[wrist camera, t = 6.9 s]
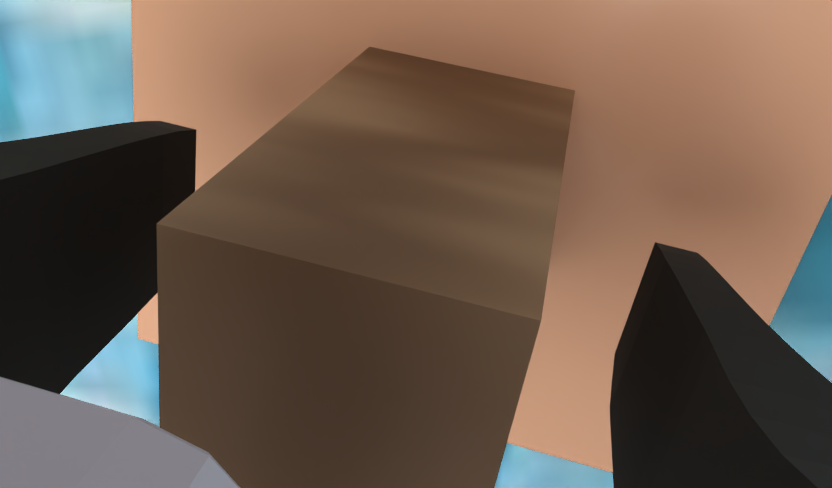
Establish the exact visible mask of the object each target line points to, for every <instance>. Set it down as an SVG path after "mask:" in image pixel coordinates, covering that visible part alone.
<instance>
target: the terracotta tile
mask: <svg viewBox="0 0 832 488" xmlns="http://www.w3.org/2000/svg"><path fill="white" fill-rule="evenodd" d="M131 6H132V55H133V105H134V122H139V121H163V122H167V123H171V124H175V125H179V126H183V127H188V128H192V129H196V174H195V191H196V190H198V189H199V188H200V187H201V186H202V185H204V184H205V183H206V182H207V181H208V180H210V179H211V178H212V177H213V176H214V175H216V174H217V173H218V172H219V171H220V170H222V169H223V168H224V167H225V166H226V165H228V164H229V163H230V162H231V161H232V160H234V159H235V158H236V157H237V156H238V155H240V154H241V153H242V152H243V151H244V150H246V149H247V148H248V147H249V146H250V145H252V144H253V143H254V142H255V141H256V140H258V139H259V138H260V137H261V136H262V135H264V134H265V133H266V132H267V131H268V130H270V129H271V128H272V127H273V126H275V125H276V124H277V123H278V122H279V121H281V120H282V119H283V118H284V117H285V116H287V115H288V114H289V113H290V112H291V111H293V110H294V109H295V108H296V107H297V106H299V105H300V104H301V103H302V102H303V101H305V100H306V99H307V98H308V97H309V96H311V95H312V94H313V93H314V92H315V91H317V90H318V89H319V88H320V87H321V86H323V85H324V84H325V83H326V82H327V81H329V80H330V79H331V78H332V77H333V76H335V75H336V74H337V73H338V72H339V71H341V70H342V69H343V68H344V67H345V66H347V65H348V64H349V63H350V62H351V61H353V60H354V59H355V58H356V57H358V56H359V55H360V54H361V53H362V52H364V51H365V50H366V49H367V48H368V47H374V48H379V49H384V50H388V51H393V52H397V53H402V54H407V55H411V56H416V57H421V58H425V59H430V60H435V61H439V62H444V63H449V64H453V65H458V66H463V67H467V68H472V69H477V70H481V71H486V72H491V73H495V74H500V75H505V76H509V77H514V78H519V79H523V80H528V81H533V82H537V83H542V84H547V85H551V86H556V87H561V88H565V89H570V90H575V94H574V101H573V108H572V114H571V121H570V128H569V135H568V142H567V148H566V155H565V162H564V169H563V176H562V182H561V189H560V196H559V203H558V210H557V216H556V223H555V230H554V237H553V244H552V250H551V257H550V264H549V271H548V278H547V285H546V291H545V298H544V305H543V312H542V319H541V323H540V327H539V330H538V334H537V337H536V341H535V345H534V348H533V352H532V355H531V359H530V362H529V366H528V369H527V373H526V376H525V380H524V384H523V387H522V391H521V394H520V398H519V401H518V405H517V408H516V412H515V415H514V419H513V423H512V426H511V430H510V433H509V437H508V440H507V443H509V444H513V445H516V446H520V447H524V448H527V449H531V450H534V451H538V452H541V453H545V454H548V455H552V456H555V457H559V458H563V459H566V460H570V461H573V462H577V463H580V464H584V465H587V466H591V467H594V468H598V469H601V470H605V471H609V472H612V473H613V464H612V447H611V428H610V397H611V385H612V375H613V365H614V355H615V351H616V348H617V346H618V343H619V340H620V337H621V335H622V332H623V329H624V326H625V324H626V321H627V318H628V315H629V313H630V310H631V307H632V304H633V302H634V299H635V296H636V293H637V290H638V288H639V285H640V282H641V279H642V277H643V274H644V271H645V268H646V266H647V263H648V260H649V257H650V255H651V252H652V249H653V246H654V244H655V242H656V243H660V244H664V245H668V246H672V247H677V248H681V249H685V250H689V251H693V252H697V253H698V254H700V255H701V256H702V257H703V258H704V259H706V260H707V261H708V262H709V263H710V264H711V265H712V266H713V267H714V268H715V269H716V271H717V272H718V273H719V274H720V275H721V276H722V277H723V278H724V279H725V280H726V281H727V282H728V283H729V284H730V285H731V287H732V288H733V289H734V290H735V291H736V292H737V293H738V294H739V295H740V296H741V297H742V298H743V299H744V300H745V302H746V303H747V304H748V305H749V306H750V307H751V308H752V309H753V310H754V311H755V312H756V313H757V314H758V315H759V316H760V317H761V318H762V319H763V320H764V321H765V322H766V323H767V324H768V325H770V323H771V321H772V319H773V317H774V315H775V313H776V311H777V308H778V306H779V304H780V302H781V300H782V298H783V296H784V294H785V292H786V290H787V287H788V285H789V283H790V281H791V279H792V277H793V275H794V273H795V271H796V269H797V266H798V264H799V262H800V260H801V258H802V256H803V254H804V252H805V250H806V248H807V245H808V243H809V241H810V239H811V237H812V235H813V233H814V231H815V229H816V226H817V224H818V222H819V220H820V218H821V216H822V214H823V212H824V210H825V208H826V205H827V203H828V201H829V199H830V197H831V195H832V0H131ZM138 339H141V340H145V341H148V342H152V343H155V344H158V293H157V294H156V295H155V296H154V297H153V298H152V299H151V300H150V301H149V302H148V303H147V304H146V305H145V306H144V307H143V308H142V309H141V310H140V311H139V312H138Z"/></svg>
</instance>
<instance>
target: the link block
mask: <svg viewBox="0 0 832 488" xmlns="http://www.w3.org/2000/svg"><path fill="white" fill-rule="evenodd" d="M574 94H575V90H570V89H565V88H561V87H556V86H551V85H547V84H542V83H537V82H533V81H528V80H523V79H519V78H514V77H509V76H505V75H500V74H495V73H491V72H486V71H481V70H477V69H472V68H467V67H463V66H458V65H453V64H449V63H444V62H439V61H435V60H430V59H425V58H421V57H416V56H411V55H407V54H402V53H397V52H393V51H388V50H384V49H379V48H374V47H368V48H367V49H366V50H365V51H364V52H362V53H361V54H360V55H359V56H358V57H356V58H355V59H354V60H353V61H351V62H350V63H349V64H348V65H347V66H345V67H344V68H343V69H342V70H341V71H339V72H338V73H337V74H336V75H335V76H333V77H332V78H331V79H330V80H329V81H327V82H326V83H325V84H324V85H323V86H321V87H320V88H319V89H318V90H317V91H315V92H314V93H313V94H312V95H311V96H309V97H308V98H307V99H306V100H305V101H303V102H302V103H301V104H300V105H299V106H297V107H296V108H295V109H294V110H293V111H291V112H290V113H289V114H288V115H287V116H285V117H284V118H283V119H282V120H281V121H279V122H278V123H277V124H276V125H275V126H273V127H272V128H271V129H270V130H268V131H267V132H266V133H265V134H264V135H262V136H261V137H260V138H259V139H258V140H256V141H255V142H254V143H253V144H252V145H250V146H249V147H248V148H247V149H246V150H244V151H243V152H242V153H241V154H240V155H238V156H237V157H236V158H235V159H234V160H232V161H231V162H230V163H229V164H228V165H226V166H225V167H224V168H223V169H222V170H220V171H219V172H218V173H217V174H216V175H214V176H213V177H212V178H211V179H210V180H208V181H207V182H206V183H205V184H204V185H202V186H201V187H200V188H199V189H198V190H196V191H195V192H194V193H193V194H192V195H190V196H189V197H188V198H187V199H186V200H184V201H183V202H182V203H181V204H179V205H178V206H177V207H176V208H175V209H173V210H172V211H171V212H170V213H169V214H167V215H166V216H165V217H164V218H163V219H161V220H160V221H159V222H158V223H157V284H158V346H159V408H160V428H162V429H164V430H165V431H167V432H169V433H171V434H173V435H175V436H177V437H179V438H181V439H183V440H185V441H187V442H189V443H191V444H193V445H195V446H197V447H199V448H201V449H203V450H205V451H207V452H208V453H210V455H211V456H212V457H213V458H214V459H215V460H216V461H217V462H218V463H219V465H220V466H221V467H222V468H223V469H224V470H225V471H226V472H227V473H228V475H229V476H230V477H231V478H232V479H233V480H234V481H235V482H236V483H237V485H238V486H239V487H240V488H494V486H495V483H496V479H497V476H498V472H499V469H500V465H501V462H502V458H503V454H504V451H505V447H506V444H507V440H508V437H509V433H510V430H511V426H512V423H513V419H514V415H515V412H516V408H517V405H518V401H519V398H520V394H521V391H522V387H523V384H524V380H525V376H526V373H527V369H528V366H529V362H530V359H531V355H532V352H533V348H534V345H535V341H536V337H537V334H538V330H539V327H540V323H541V319H542V312H543V305H544V298H545V291H546V285H547V278H548V271H549V264H550V257H551V250H552V244H553V237H554V230H555V223H556V216H557V210H558V203H559V196H560V189H561V182H562V176H563V169H564V162H565V155H566V148H567V142H568V135H569V128H570V121H571V114H572V108H573V101H574Z"/></svg>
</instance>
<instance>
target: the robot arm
mask: <svg viewBox="0 0 832 488" xmlns="http://www.w3.org/2000/svg"><path fill="white" fill-rule="evenodd" d="M195 174H196V129H192V128H188V127H183V126H179V125H175V124H171V123H167V122H163V121H139V122H130V123H122V124H115V125H108V126H102V127H96V128H90V129H84V130H78V131H72V132H66V133H60V134H54V135H48V136H42V137H36V138H29V139H22V140H15V141H8V142H1V143H0V488H240V487H239V486H238V485H237V483H236V482H235V481H234V480H233V479H232V478H231V477H230V476H229V475H228V473H227V472H226V471H225V470H224V469H223V468H222V467H221V466H220V465H219V463H218V462H217V461H216V460H215V459H214V458H213V457H212V456H211V455H210V453H208V452H207V451H205V450H203V449H201V448H199V447H197V446H195V445H193V444H191V443H189V442H187V441H185V440H183V439H181V438H179V437H177V436H175V435H173V434H171V433H169V432H167V431H165V430H164V429H162V428H160V427H158V426H156V425H154V424H152V423H150V422H148V421H146V420H144V419H142V418H138V417H135V416H131V415H128V414H125V413H121V412H118V411H114V410H111V409H108V408H104V407H101V406H98V405H94V404H91V403H87V402H84V401H81V400H77V399H74V398H70V397H67V396H64V395H60V393H61V392H62V391H63V390H64V389H65V387H66V386H67V385H68V384H69V383H70V382H71V381H72V380H73V379H74V377H75V376H76V375H77V374H78V373H79V372H80V371H81V370H82V369H83V368H84V367H85V366H86V365H87V364H88V363H89V362H90V361H91V360H92V359H93V358H94V357H95V356H96V355H97V354H98V353H99V352H100V351H101V350H102V349H103V348H104V347H105V346H106V345H107V344H108V343H109V342H110V341H111V340H112V339H113V338H114V337H115V336H116V335H117V334H118V333H119V332H120V331H121V330H122V329H123V328H124V327H125V326H126V325H127V324H128V323H129V322H130V321H131V320H132V319H133V318H134V317H135V316H136V315H137V313H138V312H139V311H140V310H141V309H142V308H143V307H144V306H145V305H146V304H147V303H148V302H149V301H150V300H151V299H152V298H153V297H154V296H155V295H156V294H157V293H158V284H157V223H158V222H159V221H160V220H161V219H163V218H164V217H165V216H166V215H167V214H169V213H170V212H171V211H172V210H173V209H175V208H176V207H177V206H178V205H179V204H181V203H182V202H183V201H184V200H186V199H187V198H188V197H189V196H190V195H192V194H193V193H194V192H195ZM610 428H611V447H612V464H613V481H614V488H832V383H831V382H830V381H829V380H827V379H826V378H825V377H824V376H823V375H821V374H820V373H819V372H818V371H817V370H816V369H814V368H813V367H812V366H811V365H810V364H809V363H808V362H807V361H806V360H805V359H803V358H802V357H801V356H800V355H799V354H798V353H797V352H796V351H795V350H794V349H793V348H791V347H790V346H789V345H788V344H787V343H786V342H785V341H784V340H783V339H782V338H781V337H780V336H779V335H778V334H777V333H776V332H775V331H774V330H773V329H772V328H771V327H770V326H769V325H768V324H767V323H766V322H765V321H764V320H763V319H762V318H761V317H760V316H759V315H758V314H757V313H756V312H755V311H754V310H753V309H752V308H751V307H750V306H749V305H748V304H747V303H746V302H745V300H744V299H743V298H742V297H741V296H740V295H739V294H738V293H737V292H736V291H735V290H734V289H733V288H732V287H731V285H730V284H729V283H728V282H727V281H726V280H725V279H724V278H723V277H722V276H721V275H720V274H719V273H718V272H717V271H716V269H715V268H714V267H713V266H712V265H711V264H710V263H709V262H708V261H707V260H706V259H704V258H703V257H702V256H701V255H700V254H698V253H697V252H693V251H689V250H685V249H681V248H677V247H672V246H668V245H664V244H660V243H656V242H655V244H654V246H653V249H652V252H651V255H650V257H649V260H648V263H647V266H646V268H645V271H644V274H643V277H642V279H641V282H640V285H639V288H638V290H637V293H636V296H635V299H634V302H633V304H632V307H631V310H630V313H629V315H628V318H627V321H626V324H625V326H624V329H623V332H622V335H621V337H620V340H619V343H618V346H617V348H616V351H615V355H614V365H613V375H612V385H611V397H610Z"/></svg>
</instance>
